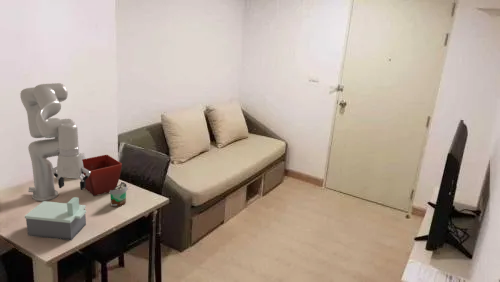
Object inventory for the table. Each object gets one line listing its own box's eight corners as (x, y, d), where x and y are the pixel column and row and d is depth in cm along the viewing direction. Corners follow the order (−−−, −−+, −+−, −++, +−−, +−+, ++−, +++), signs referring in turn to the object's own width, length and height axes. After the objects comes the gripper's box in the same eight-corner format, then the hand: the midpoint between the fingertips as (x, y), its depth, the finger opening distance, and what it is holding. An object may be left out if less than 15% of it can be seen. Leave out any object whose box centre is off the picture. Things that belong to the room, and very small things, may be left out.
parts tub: (27, 235, 177) (25, 218, 174) (45, 220, 190) (43, 203, 187) (71, 240, 176) (70, 222, 173) (86, 224, 189) (84, 207, 186)
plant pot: (76, 187, 226) (74, 160, 221) (108, 180, 239) (107, 154, 234) (90, 200, 213) (88, 171, 208) (123, 191, 226) (122, 164, 221)
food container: (120, 209, 205) (120, 192, 202) (109, 207, 206) (109, 190, 203) (132, 199, 217) (131, 183, 214) (121, 198, 218) (121, 181, 215)
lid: (25, 220, 174) (23, 203, 172) (43, 205, 188) (42, 189, 185) (75, 225, 173) (74, 208, 171) (90, 210, 187) (89, 194, 184)
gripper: (45, 152, 167) (48, 189, 172) (84, 156, 166) (87, 193, 171) (54, 147, 174) (58, 183, 179) (92, 150, 174) (95, 186, 179)
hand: (72, 187), depth 175 cm, fingers open, 9 cm apart
